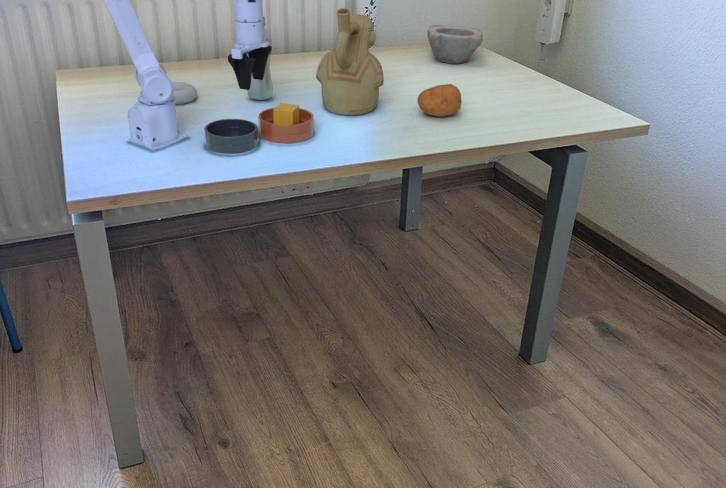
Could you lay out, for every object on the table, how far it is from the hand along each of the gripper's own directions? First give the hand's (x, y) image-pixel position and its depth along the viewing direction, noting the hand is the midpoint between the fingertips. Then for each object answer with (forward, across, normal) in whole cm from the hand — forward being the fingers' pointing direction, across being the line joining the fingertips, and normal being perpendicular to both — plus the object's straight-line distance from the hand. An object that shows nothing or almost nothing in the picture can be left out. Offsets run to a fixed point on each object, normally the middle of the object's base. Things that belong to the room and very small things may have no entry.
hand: (251, 84), depth 146 cm
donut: (+11, +12, +25) cm, 30 cm away
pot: (+10, -11, 0) cm, 15 cm away
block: (+10, -1, -8) cm, 13 cm away
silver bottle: (+10, +20, +6) cm, 24 cm away
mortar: (+10, +76, -35) cm, 85 cm away
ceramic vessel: (+10, +22, -16) cm, 29 cm away
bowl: (+10, -1, -8) cm, 13 cm away
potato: (+10, +24, -39) cm, 47 cm away
